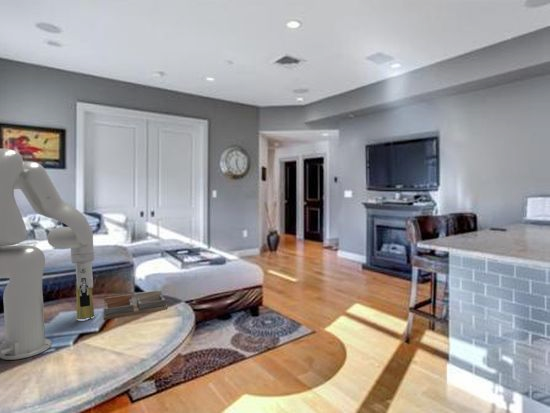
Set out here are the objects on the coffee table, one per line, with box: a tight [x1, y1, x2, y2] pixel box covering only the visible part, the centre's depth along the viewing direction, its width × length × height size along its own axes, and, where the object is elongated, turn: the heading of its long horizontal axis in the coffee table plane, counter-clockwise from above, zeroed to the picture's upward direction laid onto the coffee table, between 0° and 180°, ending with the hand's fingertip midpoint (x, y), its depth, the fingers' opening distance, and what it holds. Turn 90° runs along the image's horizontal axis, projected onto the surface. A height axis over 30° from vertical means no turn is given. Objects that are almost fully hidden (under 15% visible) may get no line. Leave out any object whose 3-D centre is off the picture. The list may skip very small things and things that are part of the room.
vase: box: [75, 281, 95, 319], centre depth 132 cm, size 6×6×14 cm
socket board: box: [102, 289, 168, 320], centre depth 141 cm, size 12×23×6 cm, turn 117°
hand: (85, 302), depth 133 cm, fingers open, 9 cm apart
